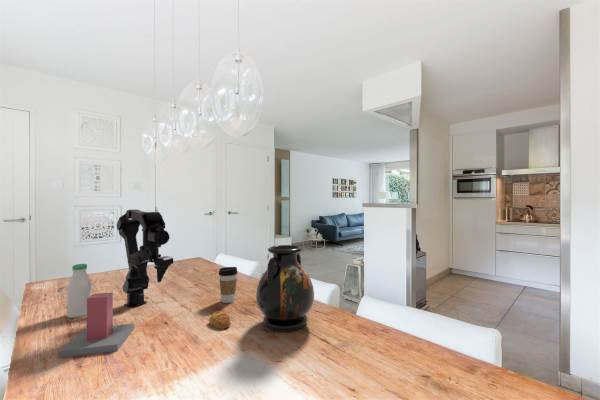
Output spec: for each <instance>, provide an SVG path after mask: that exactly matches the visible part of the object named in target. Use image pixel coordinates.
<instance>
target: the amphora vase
mask: <svg viewBox="0 0 600 400" xmlns="http://www.w3.org/2000/svg"><path fill="white" fill-rule="evenodd" d="M267 251H268V253H270V254H272V256H273V257H270V259H269V260H268V262H267V268H266V270H264V272H263V274H262V275H261V277H260V278H259V281H258V284H257V287H256V292H255V293H256V295H255V298H256V300H255V302H256V305H257V307H258V309H259V311H260V312H261V314H262V315H263V316H264V317H263V318H262V319H263V320H262V321H263V322H262V323H263V325H264V326H265V327H267V328H268V329H269V330H272V331H277V332H293V331H296V330H298V329H299V330H300V329H301V328H303V327H304V326H305V325H306V324H307V323H308V316H307V314H308V313H309V312H310V310H311V309H312V308H313V305H314V303H315V302H314V301H315V290H314V285H313V282H312V280H311V277H310V275H309V274H308V272H307V271H306V270H305V269H304V268H303V267H302V265H301V264H302V262H301V261H302V260H301V255H300V253H301V252H302V251H303V247H301V246H299V245H293V244H290V245H289V244H280V245H279V244H278V245H273V246H270V247H268V248H267Z"/></svg>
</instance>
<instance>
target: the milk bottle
mask: <svg viewBox="0 0 600 400" xmlns="http://www.w3.org/2000/svg"><path fill="white" fill-rule="evenodd" d="M87 267H88V264H87V263H79V264H74V265H72V275H71V278H70V280H69V281H68V284H67V289H66V291H67V293H66V316H67V318H71V319H74V318H76V319H77V318H82V317H84V316H87V298H88V297H90V296H91V295H93V294H92V291H93V290H92V281H91V279H90V277H89V275H88V273H87V269H88V268H87Z"/></svg>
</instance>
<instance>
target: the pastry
mask: <svg viewBox="0 0 600 400" xmlns="http://www.w3.org/2000/svg"><path fill="white" fill-rule="evenodd" d="M208 320H209V322H208V323H209V324H210V325H211V326H212V327H214V328H217V330H218V329H220V330H223V329H226V328H228V327H230V325H231V323H232V322H231V318H230V316H229V314H227V312H225V311H224V312H223V311H220V310H217V311H215V312H214V313H212V314H211V315H210V316H209V318H208Z"/></svg>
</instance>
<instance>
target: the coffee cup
mask: <svg viewBox="0 0 600 400" xmlns="http://www.w3.org/2000/svg"><path fill="white" fill-rule="evenodd" d="M238 273H239V272H238V266H227V267H226V266H224V267H220V268H219V270H218V275H219V289H220V300H221V303H222V304H230V303H234V302H235V301H236V291H237V280H238V279H237V277H238Z"/></svg>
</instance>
